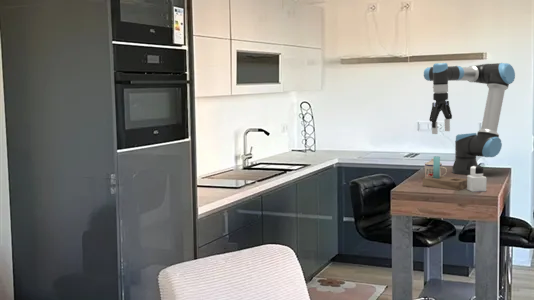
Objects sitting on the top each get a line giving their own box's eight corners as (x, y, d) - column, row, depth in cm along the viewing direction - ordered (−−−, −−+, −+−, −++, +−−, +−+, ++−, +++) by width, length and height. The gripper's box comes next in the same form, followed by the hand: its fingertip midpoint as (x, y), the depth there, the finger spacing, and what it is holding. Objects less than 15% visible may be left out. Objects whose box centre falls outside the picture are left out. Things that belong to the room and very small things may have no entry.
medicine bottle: (480, 189, 311) (481, 165, 310) (486, 191, 304) (486, 167, 303) (466, 189, 311) (467, 165, 309) (471, 191, 304) (472, 167, 302)
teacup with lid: (422, 180, 341) (422, 159, 339) (426, 178, 349) (426, 157, 347) (445, 181, 335) (445, 160, 334) (448, 179, 343) (448, 158, 342)
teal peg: (435, 184, 326) (435, 156, 324) (440, 185, 324) (441, 156, 322) (432, 185, 324) (432, 156, 322) (437, 186, 322) (437, 157, 320)
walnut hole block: (434, 183, 331) (434, 175, 331) (469, 187, 317) (469, 179, 317) (422, 186, 323) (422, 178, 322) (458, 190, 309) (458, 182, 308)
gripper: (445, 91, 340) (445, 129, 343) (422, 94, 323) (422, 134, 325) (458, 91, 335) (458, 130, 338) (435, 93, 317) (436, 135, 320)
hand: (441, 132), depth 332 cm, fingers open, 13 cm apart
